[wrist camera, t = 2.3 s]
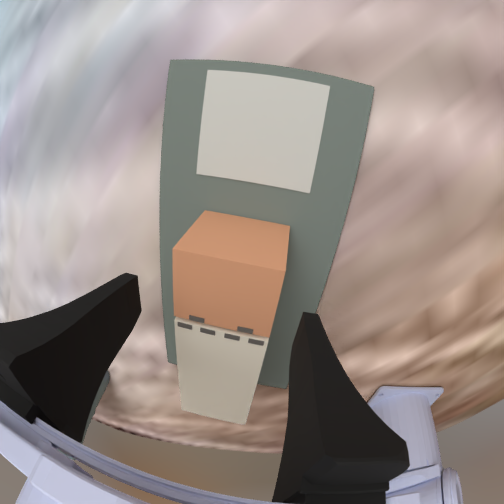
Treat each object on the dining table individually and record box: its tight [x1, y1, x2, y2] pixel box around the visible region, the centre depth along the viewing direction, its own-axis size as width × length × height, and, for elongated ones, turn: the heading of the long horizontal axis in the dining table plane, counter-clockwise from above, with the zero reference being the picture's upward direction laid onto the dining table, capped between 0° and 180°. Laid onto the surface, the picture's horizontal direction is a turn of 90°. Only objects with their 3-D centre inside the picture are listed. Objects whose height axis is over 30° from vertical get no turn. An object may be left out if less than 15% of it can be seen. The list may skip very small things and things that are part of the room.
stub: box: [172, 210, 290, 337], centre depth 15 cm, size 4×5×5 cm
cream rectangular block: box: [174, 317, 269, 425], centre depth 19 cm, size 10×5×5 cm, turn 172°
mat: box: [160, 60, 374, 389], centre depth 18 cm, size 24×11×1 cm, turn 172°
